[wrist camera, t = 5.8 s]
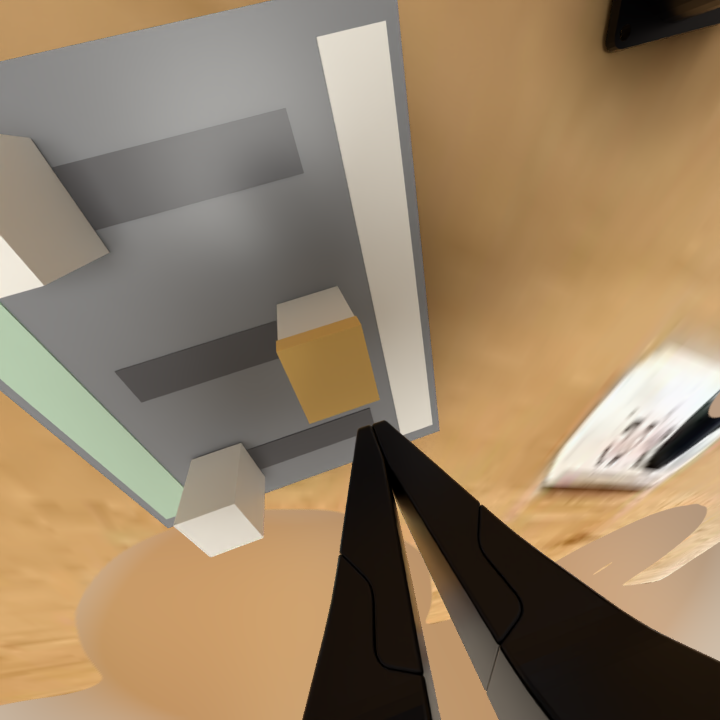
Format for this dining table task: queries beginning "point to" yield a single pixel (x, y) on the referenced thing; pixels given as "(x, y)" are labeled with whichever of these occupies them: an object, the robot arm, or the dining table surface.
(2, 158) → the block
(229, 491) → the block
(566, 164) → the dining table surface
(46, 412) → the panel
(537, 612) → the robot arm
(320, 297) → the block
